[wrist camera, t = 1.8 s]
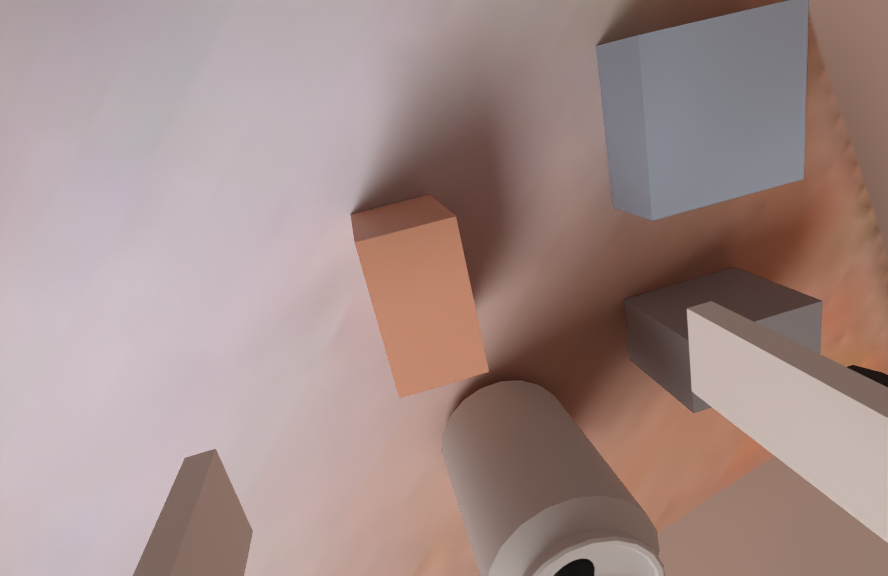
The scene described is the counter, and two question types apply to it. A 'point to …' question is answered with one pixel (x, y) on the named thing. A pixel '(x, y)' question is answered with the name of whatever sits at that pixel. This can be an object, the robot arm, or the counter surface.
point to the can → (541, 490)
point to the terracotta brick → (420, 293)
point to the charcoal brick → (762, 301)
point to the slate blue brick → (706, 109)
